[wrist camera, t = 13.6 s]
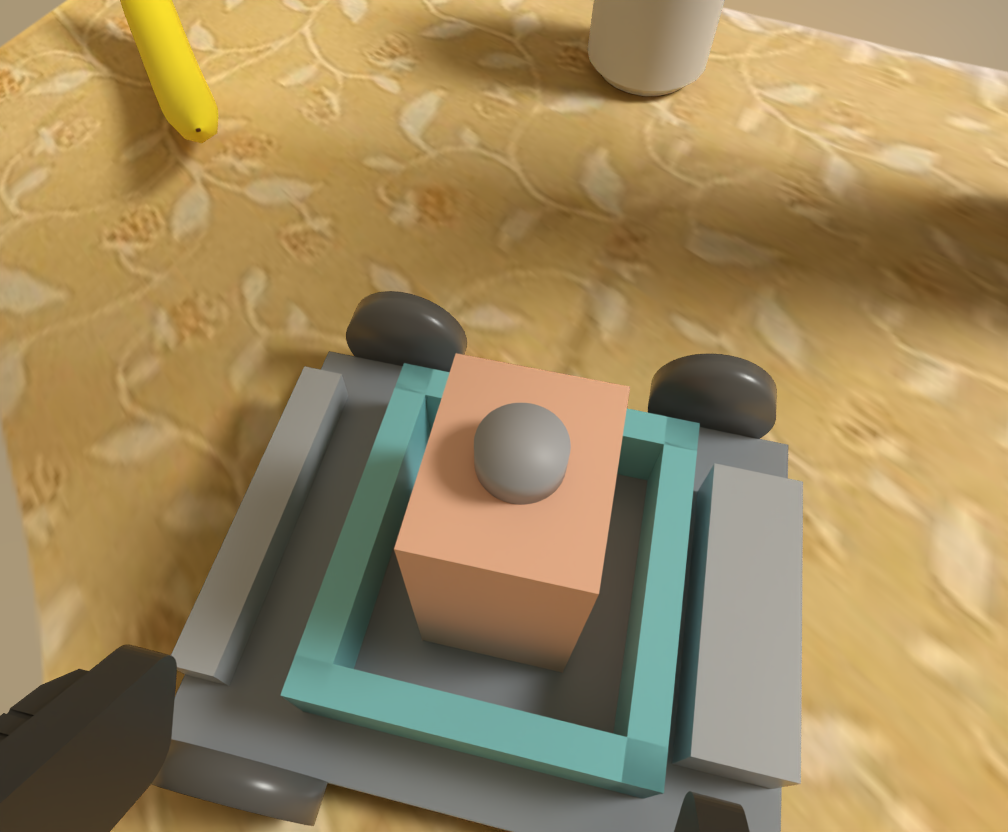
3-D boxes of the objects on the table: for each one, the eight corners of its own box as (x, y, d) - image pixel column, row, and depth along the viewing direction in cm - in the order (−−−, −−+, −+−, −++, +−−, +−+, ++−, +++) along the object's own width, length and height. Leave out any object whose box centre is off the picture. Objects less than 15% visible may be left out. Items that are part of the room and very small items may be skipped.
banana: (202, 217, 37) (154, 111, 32) (132, 29, 46) (84, -79, 40) (256, 201, 38) (218, 95, 33) (177, 19, 47) (136, -89, 41)
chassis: (344, 350, 33) (323, 277, 29) (776, 438, 31) (822, 373, 27) (158, 780, 24) (85, 767, 19) (760, 944, 22) (828, 970, 17)
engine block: (463, 488, 28) (454, 331, 19) (589, 514, 27) (636, 365, 19) (422, 640, 25) (389, 533, 16) (562, 672, 24) (605, 580, 16)
